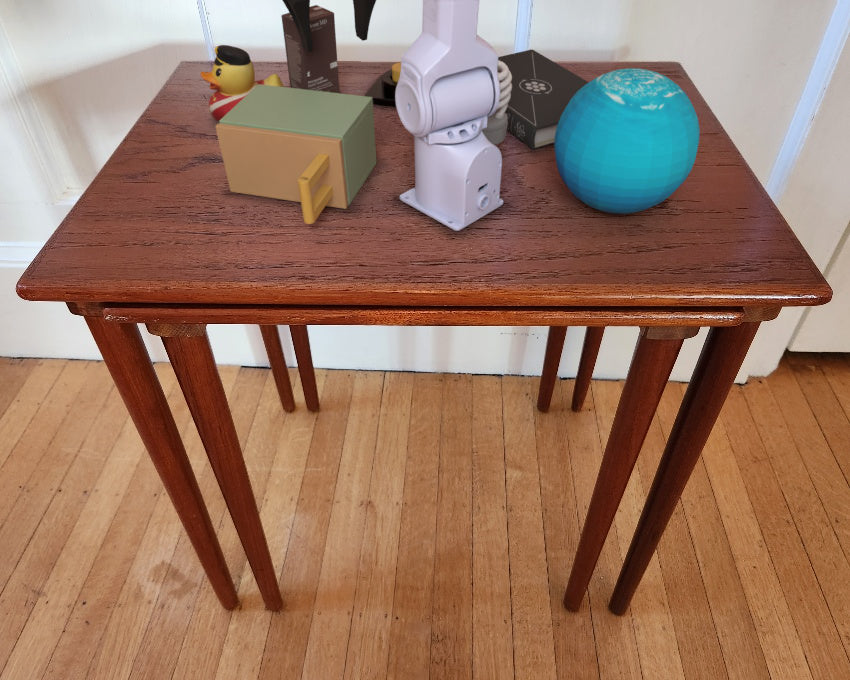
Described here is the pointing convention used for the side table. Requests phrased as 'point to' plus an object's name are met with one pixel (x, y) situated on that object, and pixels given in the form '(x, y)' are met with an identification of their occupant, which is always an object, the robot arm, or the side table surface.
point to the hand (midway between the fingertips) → (335, 43)
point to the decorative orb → (626, 140)
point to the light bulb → (500, 119)
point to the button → (396, 71)
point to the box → (312, 53)
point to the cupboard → (315, 122)
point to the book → (537, 96)
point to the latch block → (383, 90)
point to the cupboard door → (285, 167)
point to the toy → (232, 79)
